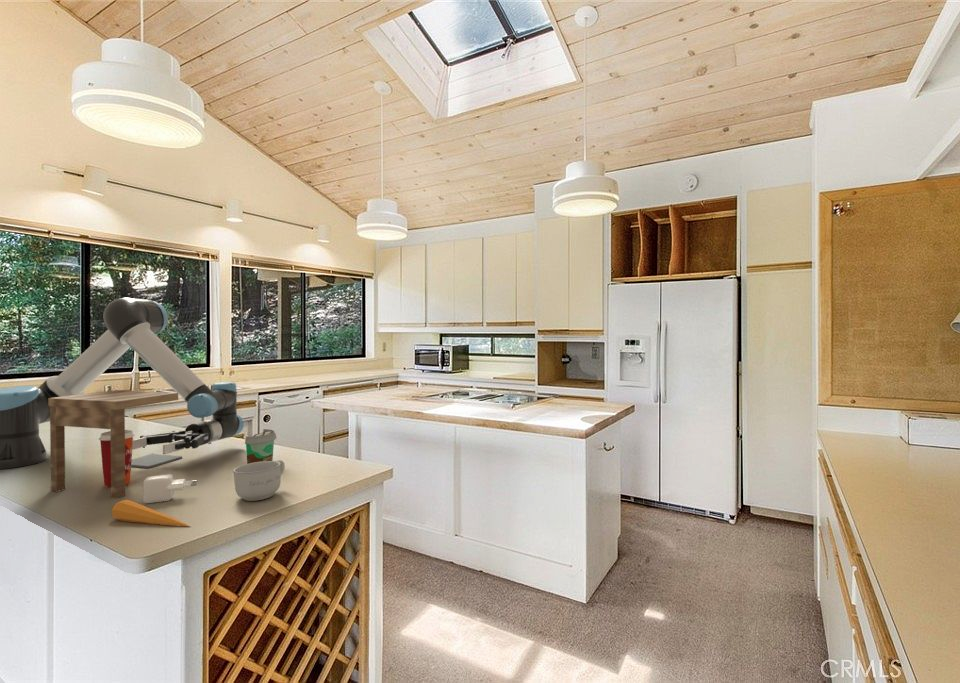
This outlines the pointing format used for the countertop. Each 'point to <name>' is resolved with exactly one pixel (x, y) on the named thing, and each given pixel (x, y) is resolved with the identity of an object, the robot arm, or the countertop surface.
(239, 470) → the teacup
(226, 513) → the countertop surface
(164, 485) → the power adapter
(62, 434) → the canopy shelf
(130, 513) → the carrot
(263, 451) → the food container
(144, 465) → the slate mat
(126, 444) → the paper cup
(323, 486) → the countertop surface
